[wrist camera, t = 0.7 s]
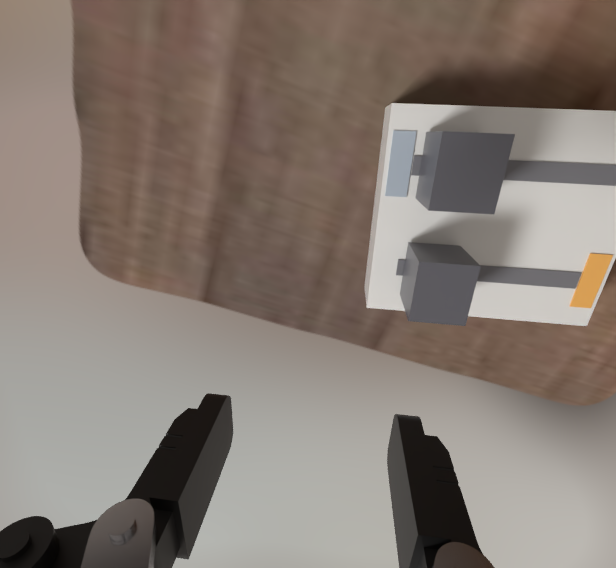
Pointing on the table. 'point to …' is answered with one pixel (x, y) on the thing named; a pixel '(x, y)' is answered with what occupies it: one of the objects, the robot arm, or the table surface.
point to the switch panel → (506, 211)
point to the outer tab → (438, 283)
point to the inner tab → (463, 171)
